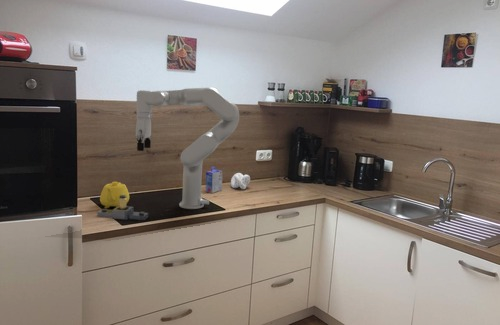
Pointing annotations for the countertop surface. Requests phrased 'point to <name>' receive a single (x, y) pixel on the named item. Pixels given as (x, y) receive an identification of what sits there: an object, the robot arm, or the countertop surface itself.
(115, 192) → the teapot
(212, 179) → the ink cartridge box
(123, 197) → the pin
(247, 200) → the countertop surface
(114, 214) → the chain ends
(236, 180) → the white twisted lump
